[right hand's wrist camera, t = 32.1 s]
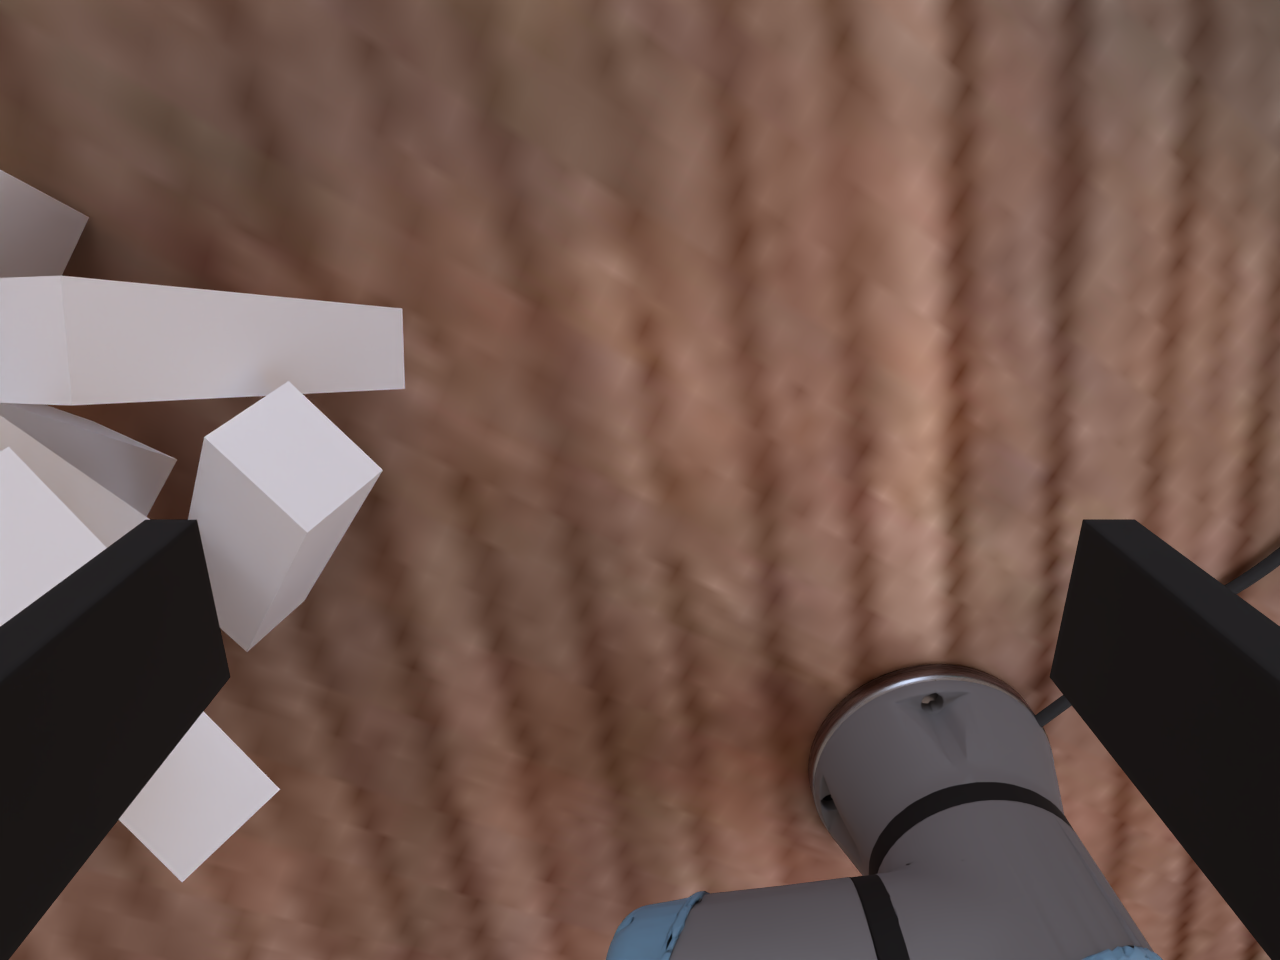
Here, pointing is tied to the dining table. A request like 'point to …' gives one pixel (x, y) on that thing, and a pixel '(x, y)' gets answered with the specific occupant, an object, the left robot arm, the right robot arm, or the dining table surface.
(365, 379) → the pile of blocks
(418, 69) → the dining table surface
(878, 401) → the dining table surface
